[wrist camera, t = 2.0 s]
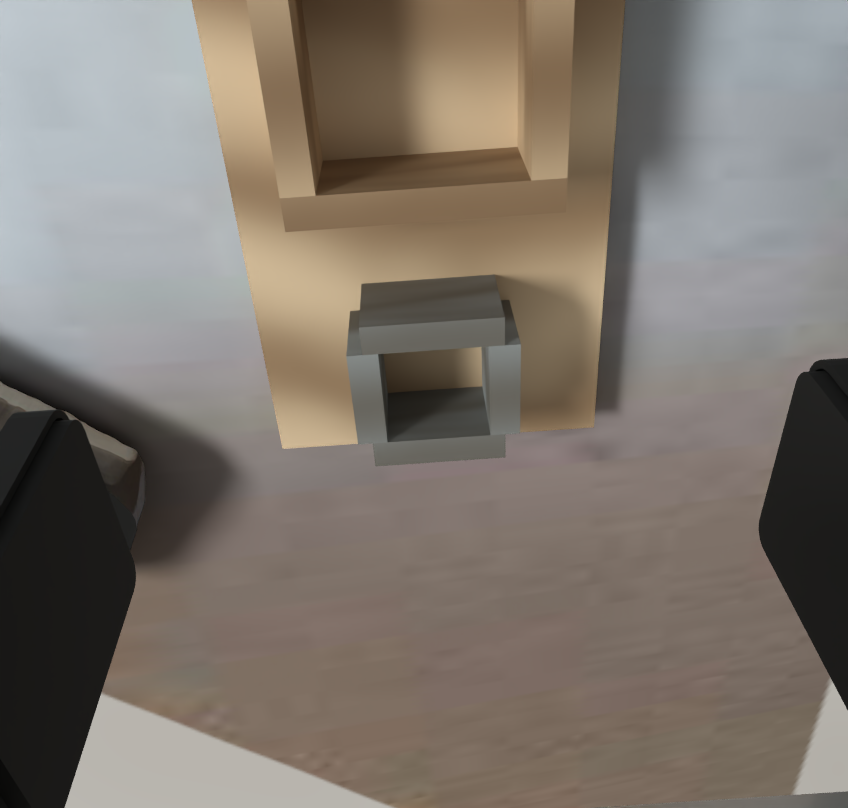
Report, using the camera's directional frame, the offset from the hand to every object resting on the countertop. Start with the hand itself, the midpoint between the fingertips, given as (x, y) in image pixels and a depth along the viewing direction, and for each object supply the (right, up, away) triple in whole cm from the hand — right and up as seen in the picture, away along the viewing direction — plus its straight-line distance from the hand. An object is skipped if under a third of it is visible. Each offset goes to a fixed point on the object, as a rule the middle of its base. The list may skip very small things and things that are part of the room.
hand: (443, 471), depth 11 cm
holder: (0, +8, +16) cm, 18 cm away
